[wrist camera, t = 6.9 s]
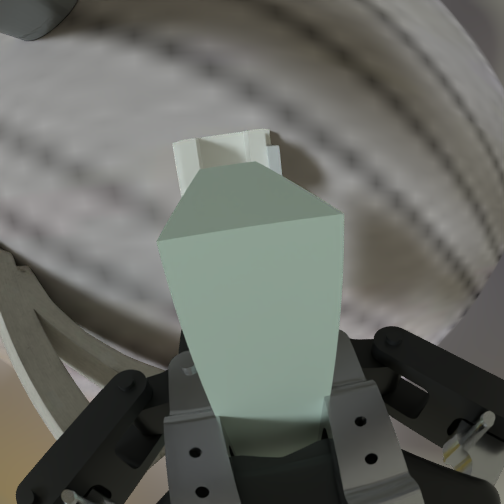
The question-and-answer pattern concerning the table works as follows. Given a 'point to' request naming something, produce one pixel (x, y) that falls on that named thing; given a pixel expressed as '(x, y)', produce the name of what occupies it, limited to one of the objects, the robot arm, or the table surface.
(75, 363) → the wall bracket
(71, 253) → the table surface
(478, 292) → the table surface
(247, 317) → the tapered block
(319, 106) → the table surface
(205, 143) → the rail
